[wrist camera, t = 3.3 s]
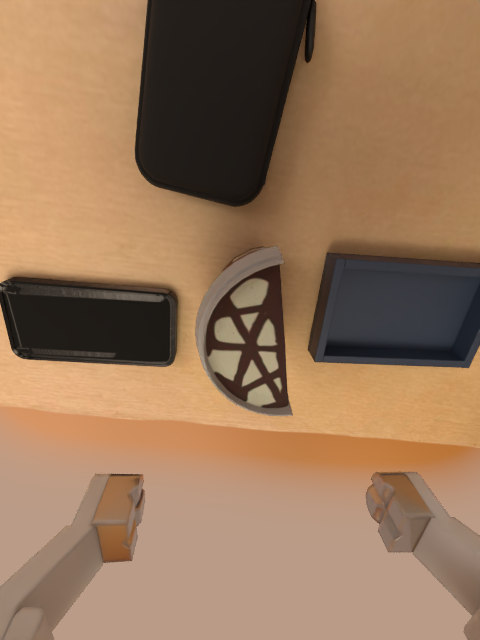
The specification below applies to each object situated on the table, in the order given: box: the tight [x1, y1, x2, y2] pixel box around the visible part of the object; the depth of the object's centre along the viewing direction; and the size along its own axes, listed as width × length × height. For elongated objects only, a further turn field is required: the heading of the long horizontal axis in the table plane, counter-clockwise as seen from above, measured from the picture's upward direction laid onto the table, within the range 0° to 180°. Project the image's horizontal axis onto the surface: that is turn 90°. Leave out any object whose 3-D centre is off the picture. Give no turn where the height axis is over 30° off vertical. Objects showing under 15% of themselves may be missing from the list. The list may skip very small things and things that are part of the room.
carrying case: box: [135, 0, 316, 207], centre depth 20 cm, size 11×3×15 cm
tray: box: [308, 253, 480, 368], centre depth 28 cm, size 16×10×2 cm, turn 86°
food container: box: [195, 246, 293, 416], centre depth 23 cm, size 12×6×10 cm, turn 7°
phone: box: [0, 277, 177, 367], centre depth 27 cm, size 8×1×15 cm
